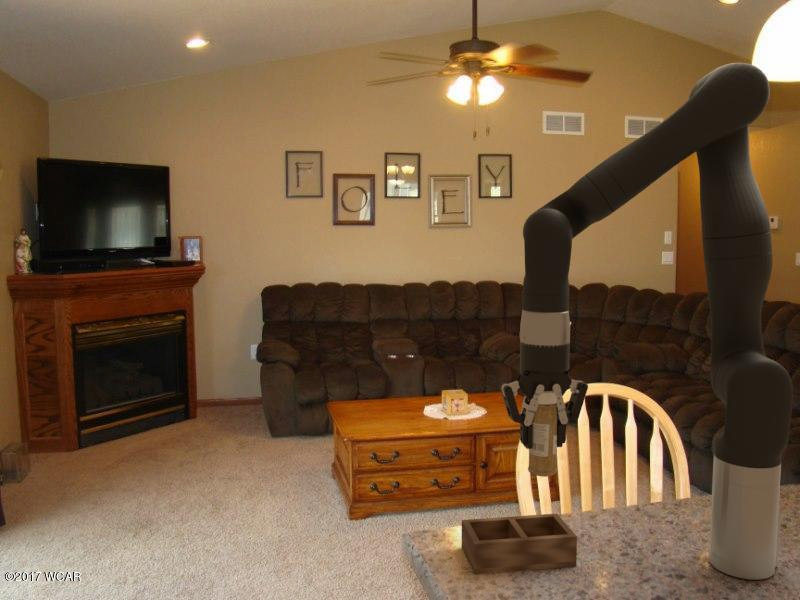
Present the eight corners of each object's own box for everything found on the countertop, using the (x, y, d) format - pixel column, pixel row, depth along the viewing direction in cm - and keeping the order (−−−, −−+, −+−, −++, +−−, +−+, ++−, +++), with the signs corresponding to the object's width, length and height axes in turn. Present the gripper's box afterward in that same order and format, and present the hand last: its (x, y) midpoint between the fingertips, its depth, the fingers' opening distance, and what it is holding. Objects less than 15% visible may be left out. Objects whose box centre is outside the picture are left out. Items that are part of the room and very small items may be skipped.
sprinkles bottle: (562, 473, 111) (565, 390, 109) (541, 479, 108) (543, 394, 107) (542, 465, 115) (543, 384, 113) (521, 470, 112) (522, 388, 110)
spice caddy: (556, 541, 118) (556, 513, 117) (576, 566, 109) (577, 536, 109) (461, 548, 116) (461, 520, 115) (474, 574, 107) (474, 544, 107)
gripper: (507, 345, 104) (505, 457, 106) (599, 341, 106) (596, 452, 108) (493, 336, 112) (492, 441, 114) (579, 333, 114) (576, 436, 116)
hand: (542, 445), depth 111 cm, fingers closed on sprinkles bottle, 4 cm apart
